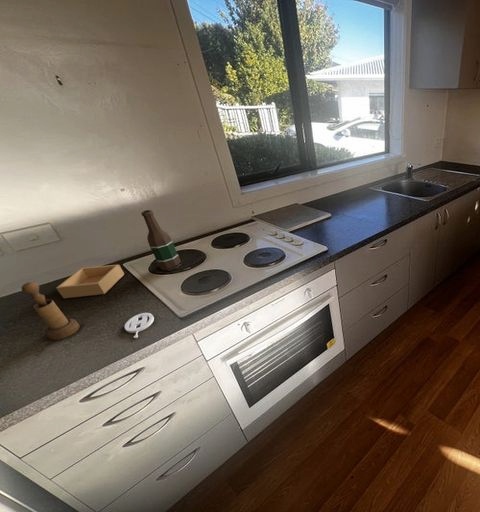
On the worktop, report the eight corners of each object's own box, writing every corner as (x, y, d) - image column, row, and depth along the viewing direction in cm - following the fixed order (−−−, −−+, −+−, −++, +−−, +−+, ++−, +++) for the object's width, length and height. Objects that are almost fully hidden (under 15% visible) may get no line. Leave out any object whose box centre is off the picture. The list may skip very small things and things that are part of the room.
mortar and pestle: (71, 337, 85) (33, 288, 76) (44, 342, 84) (1, 293, 74) (84, 322, 91) (50, 275, 81) (59, 326, 89) (21, 279, 80)
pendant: (155, 311, 94) (154, 309, 94) (151, 333, 86) (150, 331, 86) (128, 319, 91) (127, 317, 91) (121, 342, 83) (120, 340, 83)
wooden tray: (63, 298, 101) (55, 287, 98) (87, 277, 111) (81, 268, 109) (104, 293, 103) (98, 283, 100) (124, 274, 113) (119, 264, 111)
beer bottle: (184, 259, 123) (162, 206, 110) (179, 269, 116) (155, 213, 104) (163, 262, 120) (138, 208, 108) (157, 272, 114) (129, 216, 102)
